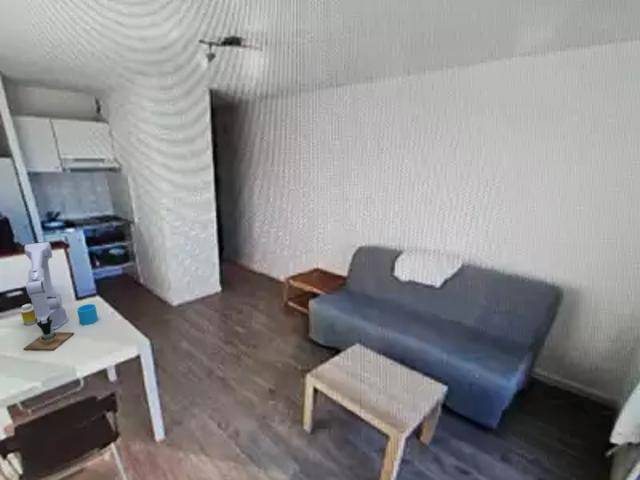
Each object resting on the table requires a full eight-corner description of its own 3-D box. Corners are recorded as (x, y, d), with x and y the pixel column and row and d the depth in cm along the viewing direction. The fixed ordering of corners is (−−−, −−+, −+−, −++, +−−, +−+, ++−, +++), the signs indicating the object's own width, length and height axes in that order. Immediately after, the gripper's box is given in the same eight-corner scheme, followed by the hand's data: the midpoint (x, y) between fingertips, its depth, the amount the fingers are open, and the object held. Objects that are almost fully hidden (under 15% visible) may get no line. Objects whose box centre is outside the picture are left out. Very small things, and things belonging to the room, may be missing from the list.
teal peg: (48, 337, 172) (45, 325, 170) (56, 337, 172) (53, 325, 170) (42, 342, 168) (39, 329, 166) (50, 342, 168) (47, 329, 166)
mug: (99, 321, 189) (97, 307, 186) (81, 327, 183) (78, 313, 181) (94, 313, 197) (91, 300, 195) (77, 318, 192) (74, 304, 189)
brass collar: (47, 336, 173) (47, 332, 173) (61, 336, 173) (60, 332, 172) (37, 344, 167) (36, 340, 166) (51, 344, 167) (50, 340, 166)
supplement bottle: (37, 323, 186) (33, 305, 183) (24, 326, 183) (19, 309, 180) (37, 319, 190) (33, 301, 187) (24, 322, 187) (19, 305, 184)
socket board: (46, 333, 177) (46, 331, 177) (74, 334, 177) (73, 332, 176) (23, 350, 164) (23, 348, 163) (53, 350, 163) (53, 349, 163)
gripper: (52, 308, 161) (58, 334, 165) (50, 296, 172) (56, 321, 176) (32, 313, 157) (39, 339, 161) (32, 301, 168) (38, 326, 172)
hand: (47, 330), depth 168 cm, fingers open, 7 cm apart
